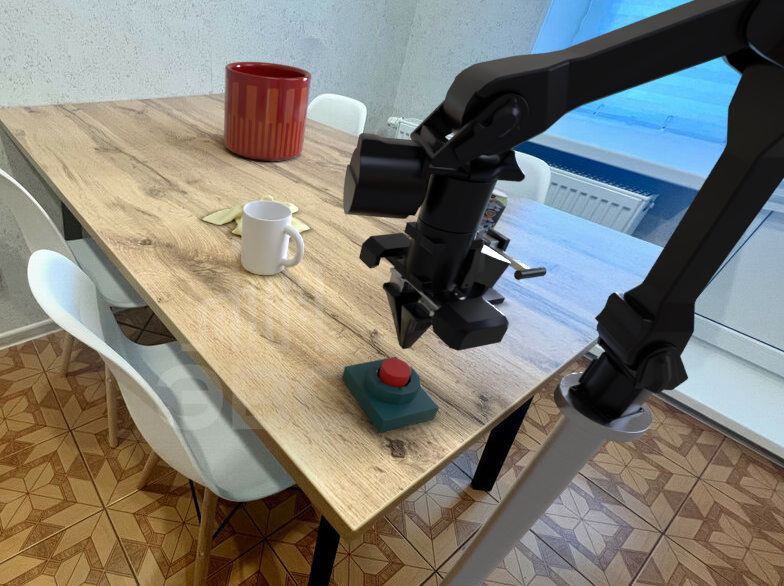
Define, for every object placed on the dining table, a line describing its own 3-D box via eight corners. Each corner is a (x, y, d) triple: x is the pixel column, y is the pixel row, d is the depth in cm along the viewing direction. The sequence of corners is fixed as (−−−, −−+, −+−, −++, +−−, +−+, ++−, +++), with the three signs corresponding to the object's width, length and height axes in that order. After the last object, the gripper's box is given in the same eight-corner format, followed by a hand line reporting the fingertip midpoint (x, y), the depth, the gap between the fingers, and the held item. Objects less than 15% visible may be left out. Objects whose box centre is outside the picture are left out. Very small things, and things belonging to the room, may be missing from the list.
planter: (209, 152, 130) (209, 67, 117) (244, 134, 147) (247, 58, 133) (285, 169, 125) (293, 82, 111) (312, 148, 141) (322, 71, 128)
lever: (542, 280, 71) (549, 266, 70) (517, 284, 70) (524, 270, 68) (489, 246, 80) (494, 233, 78) (465, 249, 78) (470, 236, 77)
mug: (311, 272, 84) (320, 217, 77) (285, 289, 78) (292, 232, 72) (258, 249, 88) (262, 196, 82) (231, 265, 83) (232, 209, 76)
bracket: (502, 303, 81) (530, 246, 74) (466, 309, 78) (491, 251, 71) (466, 274, 88) (488, 220, 81) (431, 279, 85) (451, 223, 78)
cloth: (289, 201, 108) (292, 174, 104) (324, 237, 95) (329, 208, 91) (195, 208, 100) (194, 179, 96) (219, 247, 88) (219, 216, 84)
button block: (433, 419, 58) (444, 396, 56) (379, 433, 56) (387, 410, 53) (392, 368, 65) (399, 346, 62) (341, 378, 62) (347, 356, 60)
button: (413, 384, 57) (417, 374, 56) (388, 390, 56) (392, 379, 55) (397, 366, 60) (401, 356, 59) (373, 371, 59) (376, 360, 57)
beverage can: (447, 241, 98) (467, 184, 91) (473, 238, 101) (495, 182, 93) (467, 255, 94) (490, 197, 86) (493, 251, 97) (518, 194, 89)
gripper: (587, 258, 41) (512, 386, 51) (455, 181, 53) (416, 296, 64) (488, 272, 37) (428, 407, 47) (372, 186, 50) (345, 307, 60)
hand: (404, 346), depth 55 cm, fingers closed
